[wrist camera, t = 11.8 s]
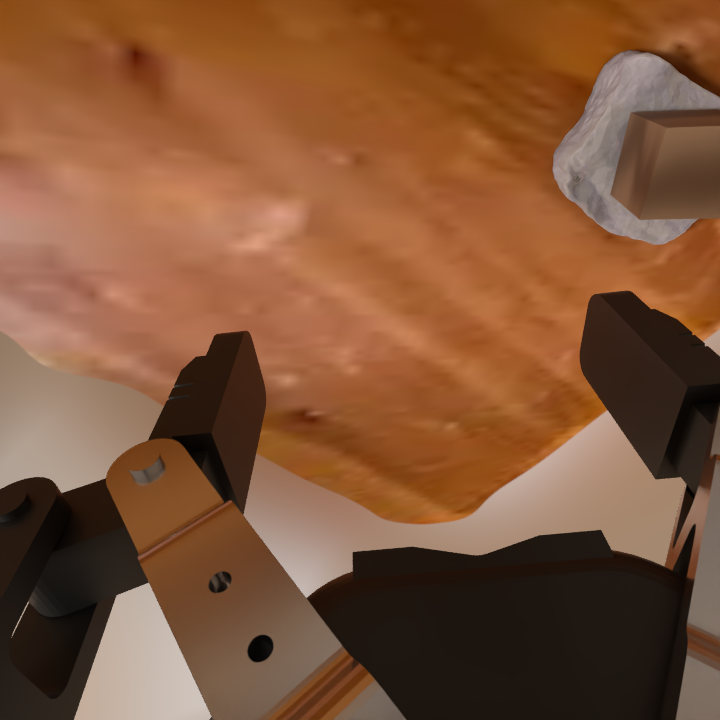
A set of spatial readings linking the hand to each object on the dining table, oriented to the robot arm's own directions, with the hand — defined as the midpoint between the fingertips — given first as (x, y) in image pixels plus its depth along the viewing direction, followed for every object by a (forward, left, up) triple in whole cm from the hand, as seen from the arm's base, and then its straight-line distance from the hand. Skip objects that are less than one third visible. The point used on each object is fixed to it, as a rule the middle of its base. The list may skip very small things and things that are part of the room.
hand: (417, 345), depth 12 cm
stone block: (+3, +19, -27) cm, 33 cm away
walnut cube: (+2, +18, -23) cm, 29 cm away
